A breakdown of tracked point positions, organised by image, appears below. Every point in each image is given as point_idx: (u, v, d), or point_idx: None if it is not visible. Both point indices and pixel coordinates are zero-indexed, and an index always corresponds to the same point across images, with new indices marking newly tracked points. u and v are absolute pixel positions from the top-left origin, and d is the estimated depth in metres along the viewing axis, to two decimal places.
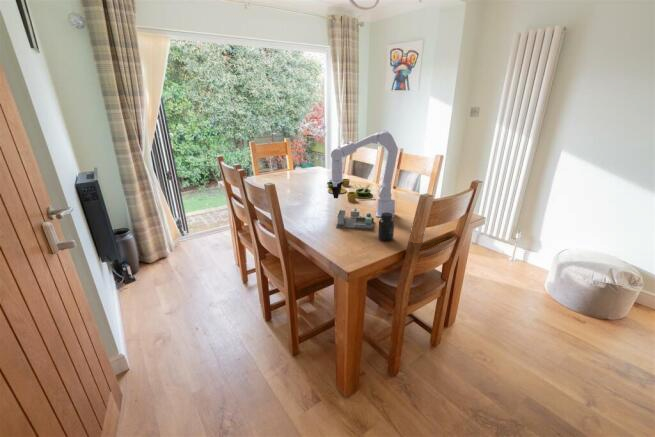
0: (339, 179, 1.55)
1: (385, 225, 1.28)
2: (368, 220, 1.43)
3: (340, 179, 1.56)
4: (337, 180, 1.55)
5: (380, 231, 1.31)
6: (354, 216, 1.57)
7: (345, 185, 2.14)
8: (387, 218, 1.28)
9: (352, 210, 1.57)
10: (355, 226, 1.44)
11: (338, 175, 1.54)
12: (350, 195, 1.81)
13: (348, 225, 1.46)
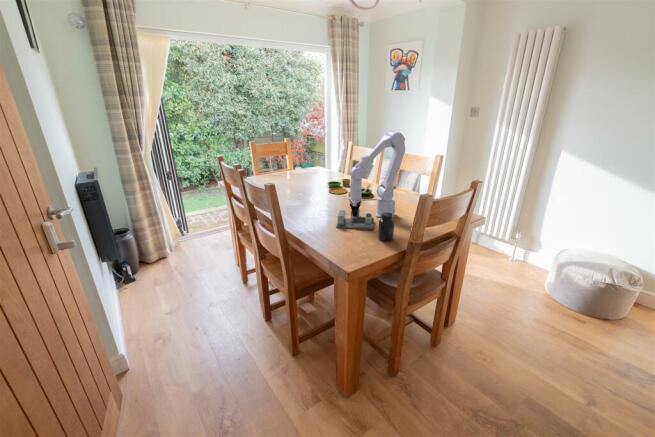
0: (358, 198, 1.52)
1: (385, 225, 1.28)
2: (368, 220, 1.43)
3: (359, 198, 1.53)
4: (356, 199, 1.52)
5: (380, 231, 1.31)
6: (354, 216, 1.57)
7: (346, 185, 2.14)
8: (387, 218, 1.28)
9: None
10: (355, 226, 1.44)
11: (357, 194, 1.51)
12: None
13: (348, 225, 1.46)
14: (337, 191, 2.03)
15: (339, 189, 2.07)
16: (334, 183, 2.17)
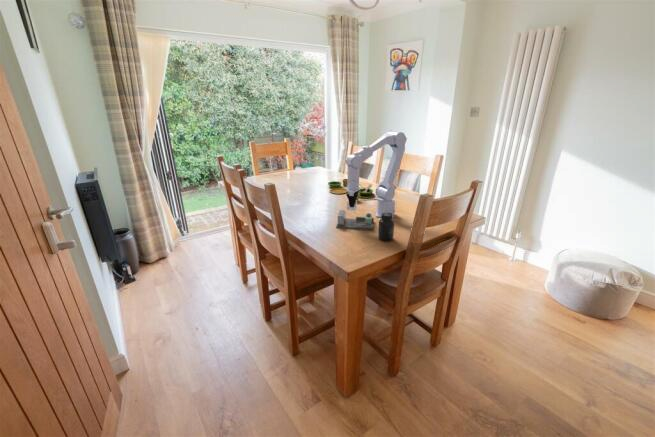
0: (355, 188, 1.45)
1: (385, 225, 1.28)
2: (368, 220, 1.43)
3: (357, 188, 1.45)
4: (353, 189, 1.45)
5: (380, 231, 1.31)
6: (351, 207, 1.49)
7: (346, 185, 2.14)
8: (387, 218, 1.28)
9: None
10: (355, 226, 1.44)
11: (355, 183, 1.44)
12: None
13: (348, 225, 1.46)
14: (338, 191, 2.02)
15: (340, 189, 2.07)
16: (334, 183, 2.16)
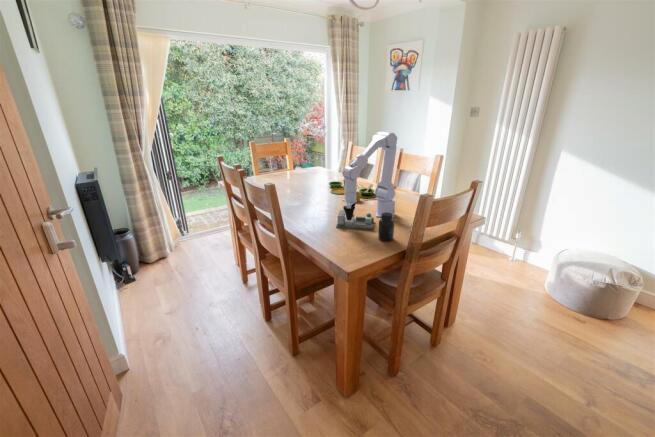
0: (353, 199, 1.42)
1: (385, 225, 1.28)
2: (368, 220, 1.43)
3: (354, 199, 1.43)
4: (351, 201, 1.42)
5: (380, 231, 1.31)
6: (348, 222, 1.47)
7: None
8: (387, 218, 1.28)
9: None
10: (355, 226, 1.44)
11: (352, 195, 1.41)
12: None
13: (348, 225, 1.46)
14: (339, 191, 2.02)
15: (341, 189, 2.07)
16: (335, 183, 2.16)
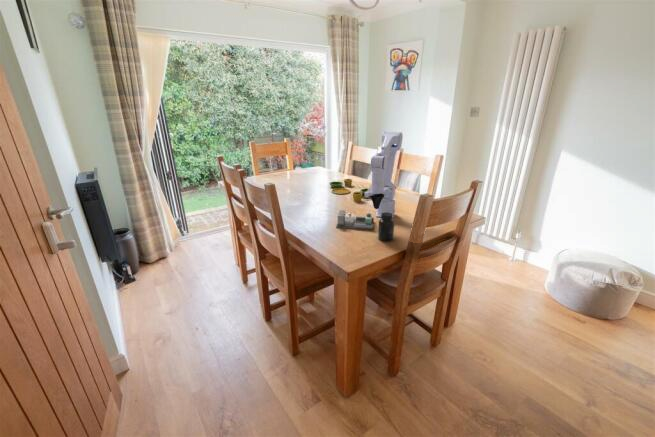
0: (376, 190, 1.38)
1: (385, 225, 1.28)
2: (368, 220, 1.43)
3: (377, 190, 1.38)
4: (373, 191, 1.39)
5: (380, 231, 1.31)
6: (348, 222, 1.47)
7: (348, 185, 2.13)
8: (387, 218, 1.28)
9: (346, 215, 1.48)
10: (355, 226, 1.44)
11: (375, 185, 1.37)
12: (356, 195, 1.80)
13: (348, 225, 1.46)
14: (340, 191, 2.02)
15: (341, 189, 2.07)
16: (336, 183, 2.16)
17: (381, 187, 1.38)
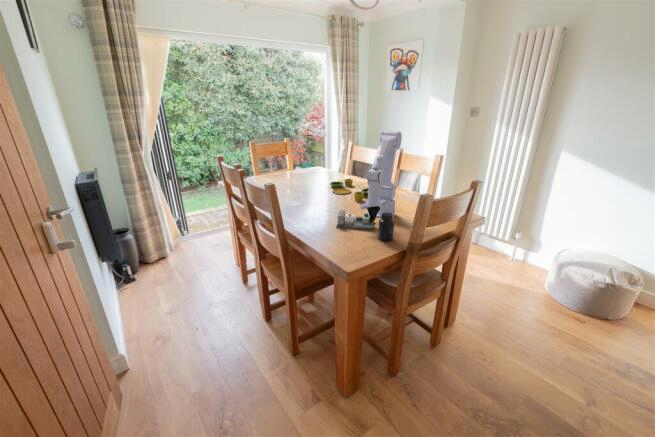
0: (372, 203, 1.41)
1: (385, 225, 1.28)
2: (365, 220, 1.44)
3: (373, 203, 1.41)
4: (369, 203, 1.41)
5: (380, 231, 1.31)
6: (348, 222, 1.47)
7: (348, 185, 2.13)
8: (387, 218, 1.28)
9: (346, 215, 1.48)
10: (355, 226, 1.44)
11: (371, 198, 1.40)
12: (358, 195, 1.80)
13: (348, 225, 1.46)
14: (341, 191, 2.02)
15: (342, 189, 2.07)
16: (336, 183, 2.16)
17: (377, 200, 1.40)
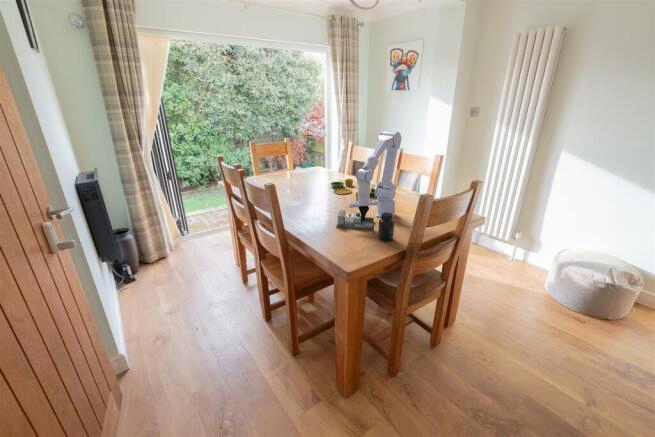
0: (360, 202, 1.42)
1: (385, 225, 1.28)
2: (357, 219, 1.44)
3: (361, 202, 1.41)
4: (358, 202, 1.43)
5: (380, 231, 1.31)
6: (348, 222, 1.47)
7: (349, 185, 2.13)
8: (387, 218, 1.28)
9: (346, 215, 1.48)
10: (355, 226, 1.44)
11: (359, 197, 1.41)
12: None
13: (348, 225, 1.46)
14: (342, 191, 2.02)
15: (343, 189, 2.07)
16: (337, 183, 2.16)
17: (365, 200, 1.41)
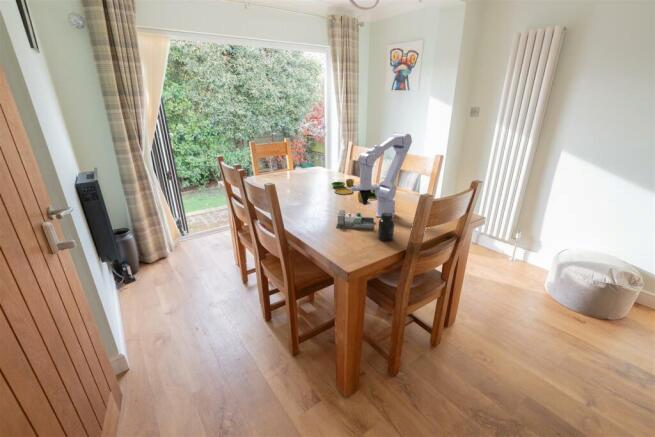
0: (361, 186, 1.44)
1: (385, 225, 1.28)
2: (358, 219, 1.44)
3: (362, 186, 1.44)
4: (360, 186, 1.45)
5: (380, 231, 1.31)
6: (348, 222, 1.47)
7: (350, 185, 2.13)
8: (387, 218, 1.28)
9: (346, 215, 1.48)
10: (355, 226, 1.44)
11: (361, 181, 1.44)
12: None
13: (348, 225, 1.46)
14: (343, 191, 2.02)
15: (344, 189, 2.06)
16: (338, 183, 2.15)
17: (366, 184, 1.43)
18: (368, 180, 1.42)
